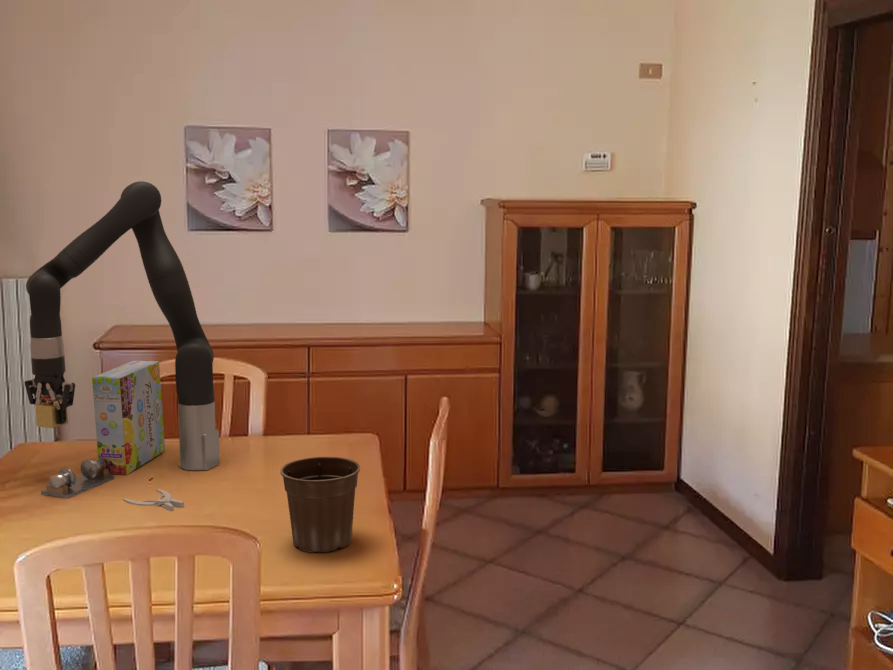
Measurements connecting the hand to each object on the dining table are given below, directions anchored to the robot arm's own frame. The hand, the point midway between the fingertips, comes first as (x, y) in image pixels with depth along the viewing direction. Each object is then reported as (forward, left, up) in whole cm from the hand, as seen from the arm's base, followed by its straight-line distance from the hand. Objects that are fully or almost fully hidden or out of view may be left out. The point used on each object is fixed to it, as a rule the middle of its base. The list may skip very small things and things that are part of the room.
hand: (52, 422), depth 227 cm
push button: (0, 0, -1) cm, 1 cm away
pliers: (-33, +3, -16) cm, 37 cm away
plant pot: (-80, +11, -15) cm, 82 cm away
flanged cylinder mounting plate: (-8, +1, -15) cm, 17 cm away
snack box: (-7, -20, -15) cm, 26 cm away
